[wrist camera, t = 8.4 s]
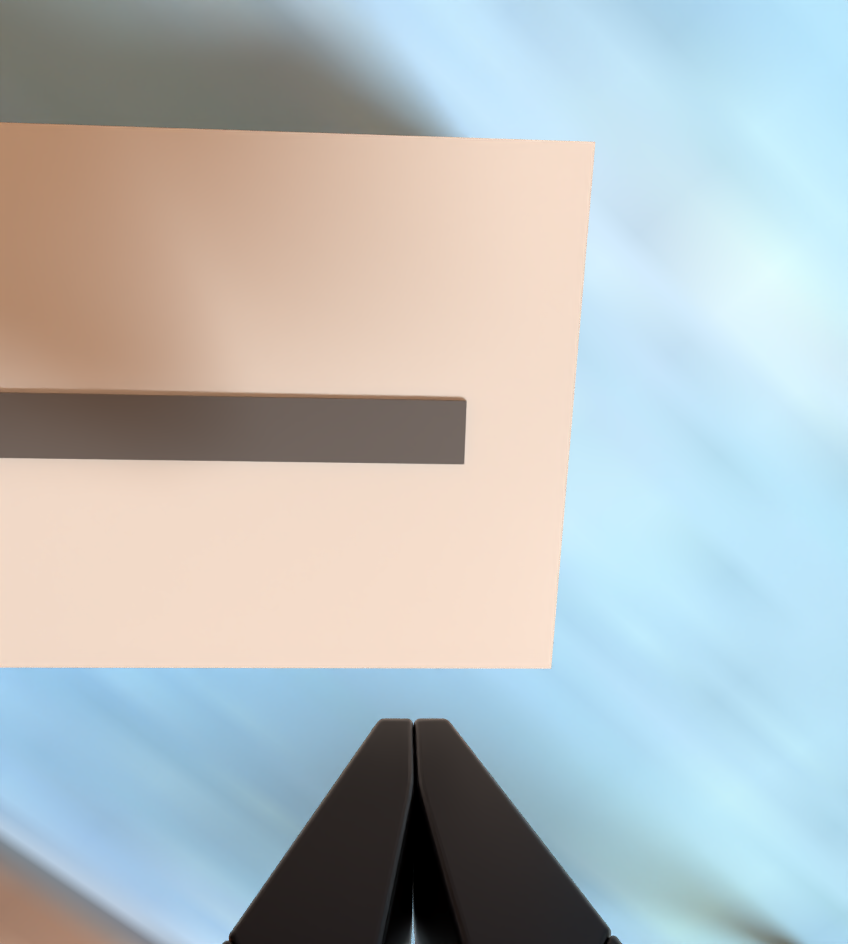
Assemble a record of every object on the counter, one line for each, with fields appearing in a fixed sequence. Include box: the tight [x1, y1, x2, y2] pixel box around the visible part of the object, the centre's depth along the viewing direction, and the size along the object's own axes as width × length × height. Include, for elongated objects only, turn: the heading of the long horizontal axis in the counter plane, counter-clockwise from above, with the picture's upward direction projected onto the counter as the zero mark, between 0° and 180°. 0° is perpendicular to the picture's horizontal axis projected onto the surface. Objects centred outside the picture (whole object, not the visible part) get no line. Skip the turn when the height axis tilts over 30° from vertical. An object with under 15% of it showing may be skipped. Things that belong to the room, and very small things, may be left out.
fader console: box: [0, 122, 595, 668], centre depth 15 cm, size 10×22×7 cm, turn 89°
